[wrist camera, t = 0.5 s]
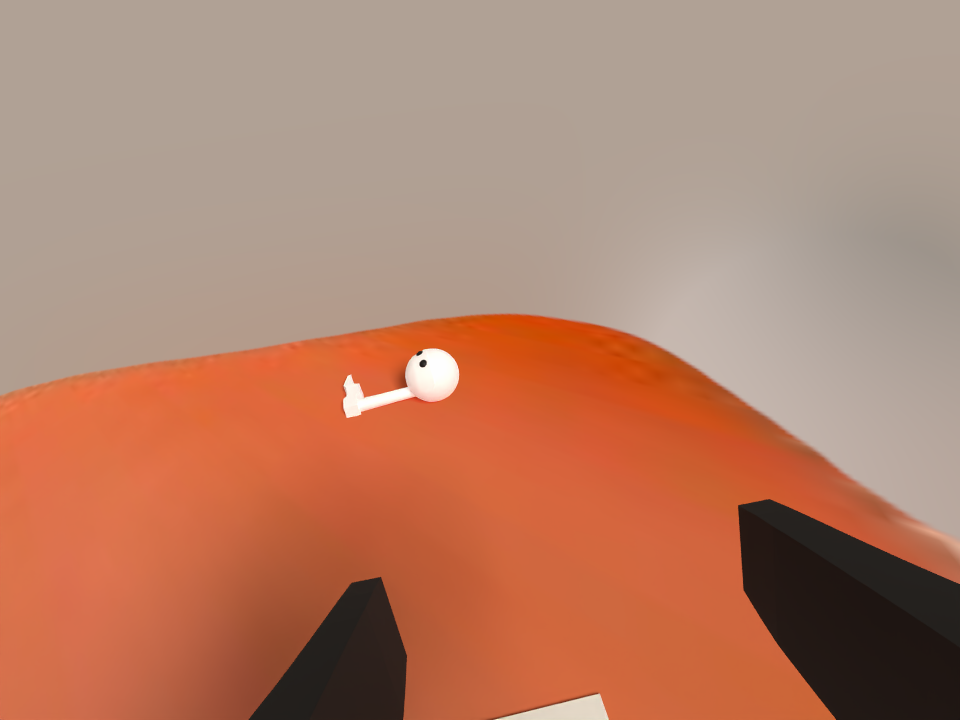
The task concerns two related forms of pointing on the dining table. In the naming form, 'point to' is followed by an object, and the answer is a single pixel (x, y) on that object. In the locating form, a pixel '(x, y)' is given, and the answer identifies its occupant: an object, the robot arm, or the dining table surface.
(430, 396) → the figurine
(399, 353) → the dining table surface
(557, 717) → the subfloor board
